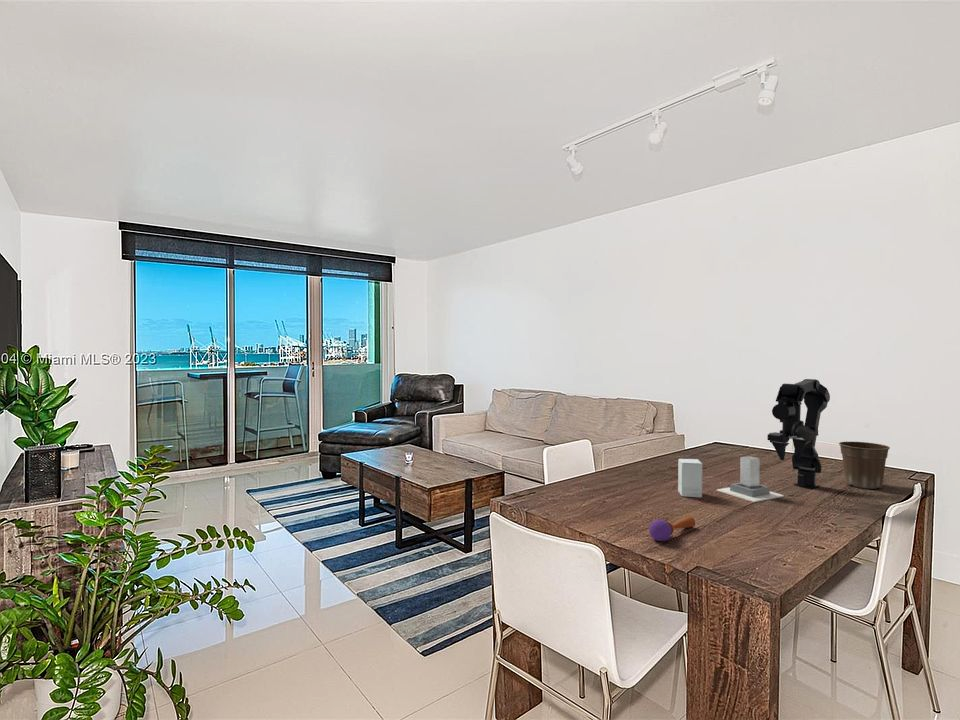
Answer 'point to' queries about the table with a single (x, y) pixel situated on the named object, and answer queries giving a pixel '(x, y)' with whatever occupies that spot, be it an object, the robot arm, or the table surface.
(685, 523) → the kendama
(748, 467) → the square peg
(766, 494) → the dock board
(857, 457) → the plant pot
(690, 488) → the supplement box
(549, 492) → the table surface
